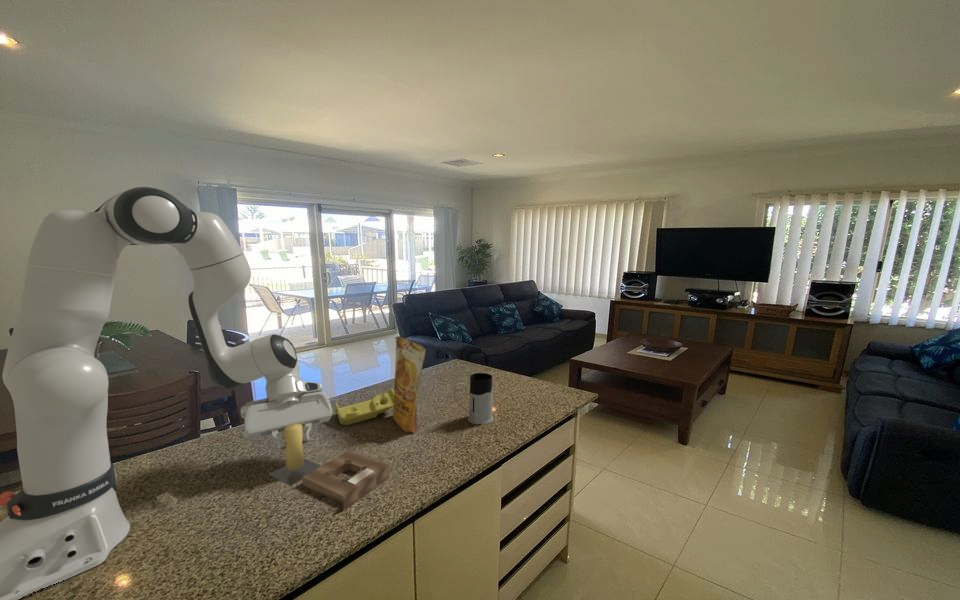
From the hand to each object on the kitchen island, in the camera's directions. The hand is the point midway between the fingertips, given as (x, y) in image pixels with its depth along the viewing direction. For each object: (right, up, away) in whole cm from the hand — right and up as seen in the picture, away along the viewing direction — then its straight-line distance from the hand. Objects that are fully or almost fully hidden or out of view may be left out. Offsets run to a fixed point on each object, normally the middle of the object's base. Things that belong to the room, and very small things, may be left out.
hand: (294, 445), depth 93 cm
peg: (0, -6, +1) cm, 6 cm away
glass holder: (+44, -5, +34) cm, 56 cm away
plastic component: (+7, -5, +38) cm, 38 cm away
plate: (0, -9, +2) cm, 9 cm away
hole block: (+13, -9, -1) cm, 16 cm away
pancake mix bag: (+22, -5, +32) cm, 39 cm away
